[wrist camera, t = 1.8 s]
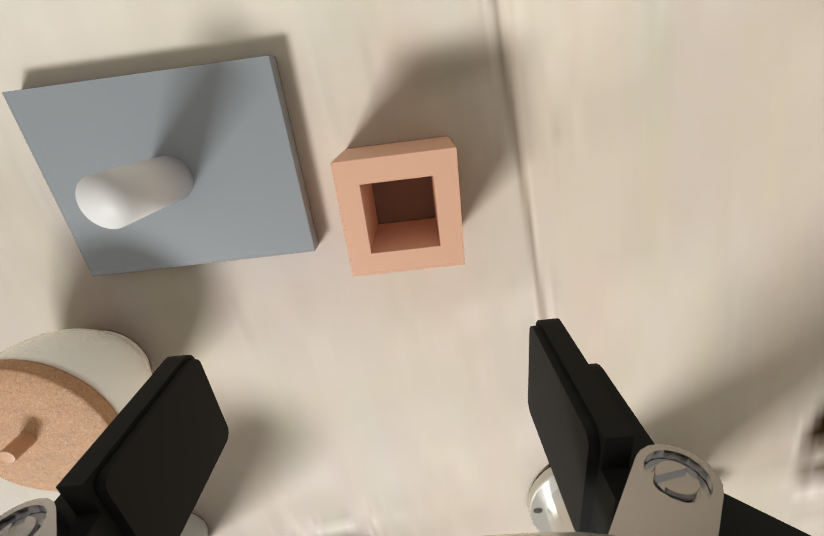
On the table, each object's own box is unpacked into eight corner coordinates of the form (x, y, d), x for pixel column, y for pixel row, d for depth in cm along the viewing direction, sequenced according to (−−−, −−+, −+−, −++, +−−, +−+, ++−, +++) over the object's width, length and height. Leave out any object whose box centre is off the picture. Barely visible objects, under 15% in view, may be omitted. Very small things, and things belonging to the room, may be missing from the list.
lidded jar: (21, 303, 31) (-131, 387, 22) (161, 304, 31) (64, 388, 22) (69, 411, 35) (-42, 515, 26) (192, 411, 35) (120, 516, 26)
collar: (447, 136, 26) (456, 147, 21) (455, 233, 28) (464, 264, 23) (346, 148, 26) (330, 163, 21) (363, 243, 29) (352, 276, 24)
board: (274, 57, 24) (222, 44, 17) (318, 244, 29) (290, 291, 22) (20, 92, 24) (-124, 93, 18) (104, 269, 29) (16, 321, 23)
